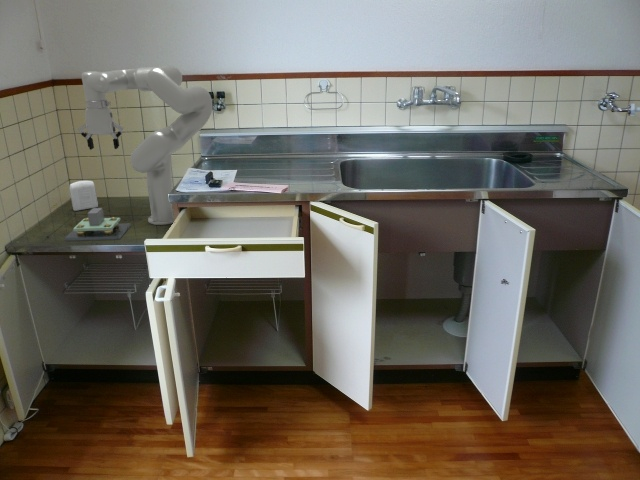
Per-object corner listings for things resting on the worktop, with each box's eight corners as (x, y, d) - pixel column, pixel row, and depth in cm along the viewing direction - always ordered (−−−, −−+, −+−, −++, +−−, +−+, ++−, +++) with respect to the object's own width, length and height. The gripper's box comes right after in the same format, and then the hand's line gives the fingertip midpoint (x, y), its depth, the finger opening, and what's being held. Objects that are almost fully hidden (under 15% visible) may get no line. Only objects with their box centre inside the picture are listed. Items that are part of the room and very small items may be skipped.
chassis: (130, 226, 210) (128, 214, 208) (119, 239, 197) (117, 226, 196) (79, 227, 210) (77, 215, 208) (65, 240, 197) (62, 228, 195)
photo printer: (97, 204, 236) (92, 178, 231) (99, 207, 233) (94, 180, 228) (72, 209, 231) (67, 181, 226) (74, 212, 227) (68, 184, 223)
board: (120, 219, 208) (118, 205, 205) (111, 230, 198) (109, 214, 195) (84, 221, 207) (81, 206, 205) (73, 231, 197) (70, 216, 195)
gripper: (122, 103, 209) (128, 146, 216) (77, 103, 208) (85, 147, 215) (116, 105, 202) (123, 150, 209) (70, 106, 201) (78, 151, 208)
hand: (104, 148), depth 212 cm, fingers open, 9 cm apart
